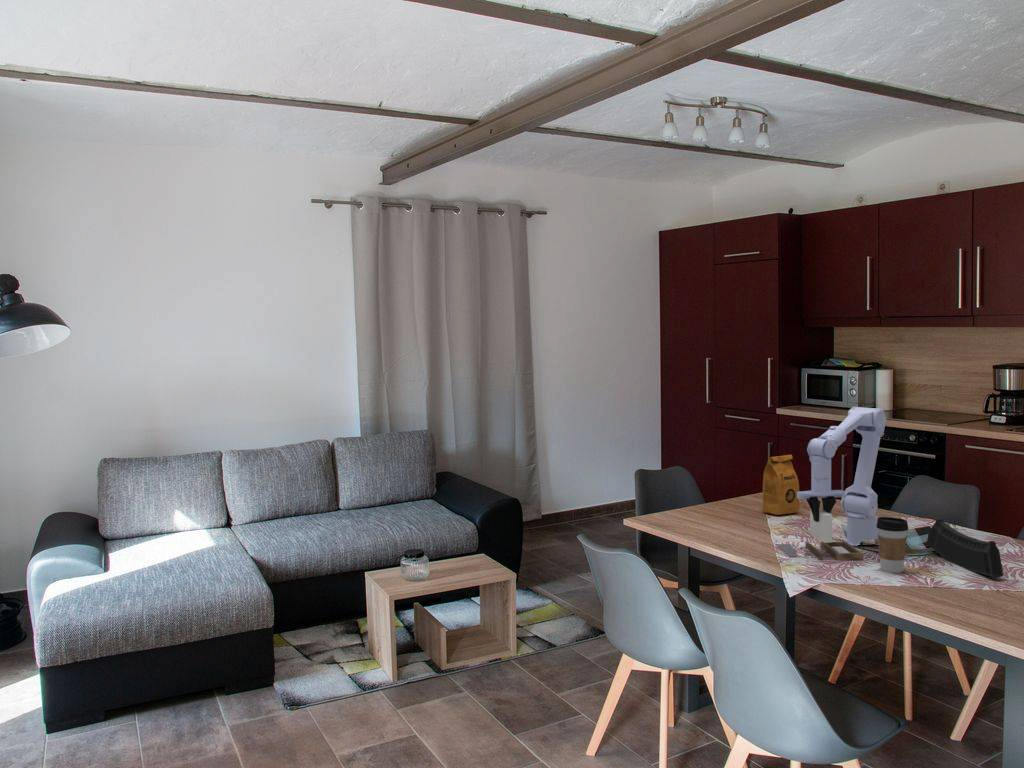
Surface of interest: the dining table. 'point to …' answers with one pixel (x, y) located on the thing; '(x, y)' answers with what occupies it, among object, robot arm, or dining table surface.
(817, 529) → the white rectangular block
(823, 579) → the dining table surface
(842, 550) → the offcut upper
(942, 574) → the dining table surface
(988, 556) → the magazine
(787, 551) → the mat
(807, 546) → the brown wooden frame
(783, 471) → the coffee package
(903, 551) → the coffee cup
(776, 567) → the dining table surface
